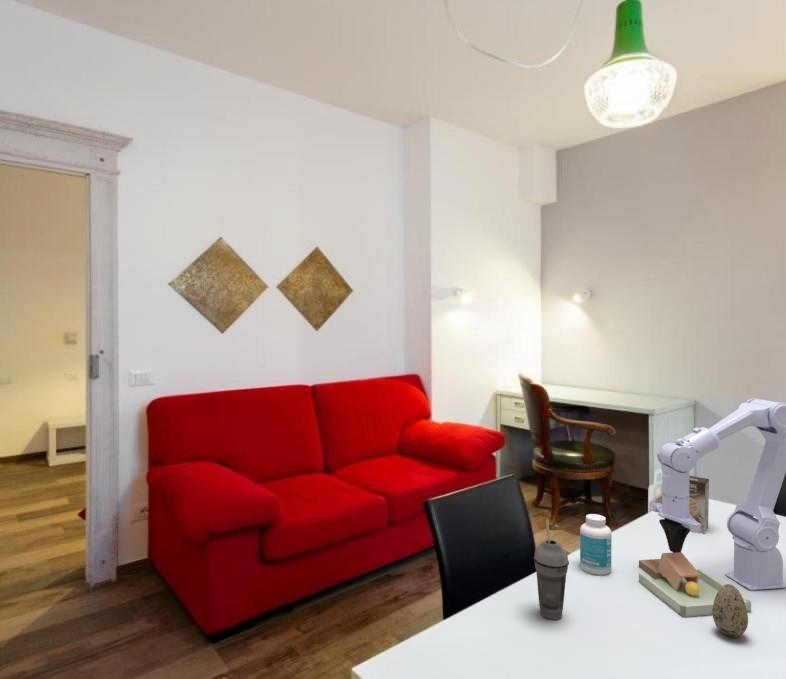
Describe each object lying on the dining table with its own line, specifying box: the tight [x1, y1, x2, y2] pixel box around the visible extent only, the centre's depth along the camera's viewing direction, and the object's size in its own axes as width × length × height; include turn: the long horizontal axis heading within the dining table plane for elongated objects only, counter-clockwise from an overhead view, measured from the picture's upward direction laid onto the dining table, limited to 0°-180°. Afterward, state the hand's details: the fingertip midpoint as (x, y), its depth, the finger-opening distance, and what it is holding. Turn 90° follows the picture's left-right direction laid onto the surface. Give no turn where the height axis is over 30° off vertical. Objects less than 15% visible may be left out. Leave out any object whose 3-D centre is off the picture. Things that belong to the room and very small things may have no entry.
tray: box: [638, 568, 752, 618], centre depth 118 cm, size 16×16×2 cm
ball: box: [685, 581, 700, 596], centre depth 117 cm, size 3×3×3 cm
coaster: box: [638, 558, 684, 580], centre depth 129 cm, size 7×7×2 cm
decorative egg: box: [712, 583, 749, 638], centre depth 103 cm, size 6×6×10 cm
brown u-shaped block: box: [658, 551, 700, 591], centre depth 122 cm, size 5×5×7 cm
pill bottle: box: [579, 513, 612, 576], centre depth 131 cm, size 8×7×14 cm
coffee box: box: [689, 475, 710, 535], centre depth 157 cm, size 9×6×16 cm
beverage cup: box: [533, 518, 570, 620], centre depth 111 cm, size 7×7×20 cm
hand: (675, 551), depth 123 cm, fingers closed
